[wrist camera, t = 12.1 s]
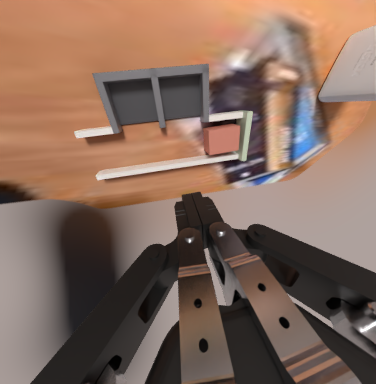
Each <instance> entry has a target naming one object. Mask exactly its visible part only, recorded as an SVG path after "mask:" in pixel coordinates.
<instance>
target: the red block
mask: <svg viewBox="0 0 376 384" xmlns="http://www.w3.org/2000/svg"><path fill="white" fill-rule="evenodd" d="M203 132H204V150H205V151H206V152H207V153H208V154H209V155H214V154H219V153H225V152H231V151H237V150H238V149H239V136H240V126H239V125H235V124H225V125H219V126H213V127H206V128H203Z"/></svg>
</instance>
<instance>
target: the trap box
mask: <svg viewBox="0 0 376 384" xmlns="http://www.w3.org/2000/svg"><path fill="white" fill-rule="evenodd" d="M92 74H93V77H94V80H95V83H96V86H97V88H98V91H99V94H100V97H101V100H102V102H103V105H104V108H105V111H106V114H107V116H108V119H109V122H110V125H111V126H107V127H98V128H90V129H81V130H78V131H75V132H74V133H75V136H76V138H82V137H91V136H99V135H107V134H115V133H120V132H122V131H123V130H122V127H121V125H125V124H133V123H142V122H150V121H159V125H160V128H164V127H166V126H165V120H167V119H176V118H184V117H193V116H200V121H201V122H212V121H220V120H228V119H236V125H239V126H240V136H239V149H238V150H237V151H231V152H225V153H219V154H214V155H203V156H196V157H190V158H183V159H176V160H169V161H162V162H155V163H149V164H142V165H135V166H128V167H121V168H114V169H107V170H101V171H99V172H98V173H97V175H96V178H97V180H102V179H109V178H115V177H122V176H128V175H135V174H141V173H148V172H155V171H161V170H168V169H174V168H181V167H188V166H194V165H201V164H207V163H214V162H220V161H227V160H234V159H239V160H241V161H246V157H247V150H248V143H249V135H250V128H251V121H252V114H253V111H234V112H225V113H217V114H209V64H200V65H188V66H176V67H164V68H152V69H140V70H128V71H116V72H104V73H92Z"/></svg>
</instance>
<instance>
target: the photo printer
mask: <svg viewBox="0 0 376 384" xmlns="http://www.w3.org/2000/svg"><path fill="white" fill-rule="evenodd" d="M319 100H320V101H321V102H348V101H376V25H375V26H372V27H369V28H367V29H364V30H362V31H359V32H357V33H354V34H352V35H351V36H350V37H349V39H348V40H347V42H346V43H345V45H344V47H343V49H342V51H341V52H340V54H339V56H338V58H337V60H336V62H335V63H334V65H333V67H332V69H331V71H330V73H329V75H328V77H327V79H326V81H325V83H324V85H323V87H322V89H321V91H320V93H319Z"/></svg>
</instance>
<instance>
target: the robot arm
mask: <svg viewBox="0 0 376 384" xmlns="http://www.w3.org/2000/svg"><path fill="white" fill-rule="evenodd" d="M175 214H176V221H177V227H178V235H177V237H176V239H175V240H174V241H173V242H171V243H170V244H168V245H166V246H163V245H162V244H153V245H150V246H148V247H147V248H146V249H145V250H144V251H143V252H142V253H141V255H140V256H139V257H138V258H137V259H136V260H135V262H134V263H133V264H132V265H131V266H130V268H129V269H128V270H127V271H126V272H125V273H124V275H123V276H122V277H121V278H120V279H119V280H118V282H117V283H116V284H115V285H114V286H113V287H112V289H111V290H110V291H109V292H108V293H107V295H106V296H105V297H104V298H103V299H102V300H101V301H100V303H99V304H98V305H97V306H96V307H95V308H94V310H93V311H92V312H91V313H90V314H89V316H88V317H87V318H86V319H85V320H84V321H83V323H82V324H81V325H80V326H79V327H78V328H77V330H76V331H75V332H74V333H73V334H72V335H71V337H70V338H69V339H68V340H67V341H66V342H65V344H64V345H63V346H62V347H61V348H60V350H59V351H58V352H57V353H56V354H55V355H54V357H53V358H52V359H51V360H50V361H49V363H48V364H47V365H46V366H45V367H44V368H43V370H42V371H41V372H40V373H39V374H38V375H37V376H36V378H35V379H34V380H33V381H32V382H31V383H30V384H126V378H125V376H124V373H125V371H126V369H127V368H128V366H129V364H130V362H131V360H132V359H133V357H134V355H135V353H136V351H137V350H138V348H139V346H140V344H141V342H142V340H143V339H144V337H145V335H146V333H147V331H148V329H149V328H150V326H151V324H152V322H153V320H154V319H155V317H156V315H157V313H158V311H159V310H160V308H161V306H162V304H163V302H164V301H165V299H166V297H167V295H168V293H169V291H170V289H171V288H172V286H173V284H174V282H175V281H177V280H178V297H179V321H178V322H176V324H175V325H174V326H173V327H172V328H171V329H170V331H169V332H168V334H167V335H166V337H165V339H164V341H163V343H162V345H161V347H160V349H159V351H158V354H157V356H156V358H155V361H154V363H153V365H152V368H151V370H150V372H149V374H148V377H147V379H146V382H145V384H376V273H375V272H372V271H370V270H367V269H365V268H363V267H360V266H358V265H356V264H353V263H351V262H349V261H346V260H344V259H341V258H339V257H337V256H335V255H332V254H330V253H327V252H325V251H323V250H320V249H318V248H316V247H313V246H311V245H308V244H306V243H304V242H302V241H299V240H297V239H294V238H292V237H290V236H287V235H285V234H282V233H280V232H278V231H275V230H273V229H271V228H269V227H266V226H264V225H260V224H253V225H250V226H249V227H248V229H247V230H240V229H233V228H231V226H230V225H228V224H227V223H224V221H223V219H222V217H221V215H220V213H219V212H218V210H217V209H216V206H215V205H214V203H213V201H212V200H211V199H210V198H209V197H202V195H201V192H195V193H190V194H184V195H182V201H180V202H176V204H175ZM205 248H208V250H209V254H210V260H211V263H212V265H213V267H214V270H215V272H216V275H217V277H218V280H219V282H220V285H221V287H222V290H223V294H224V298H225V302H226V305H227V306H223V305H218V303H217V299H216V294H215V289H214V285H213V281H212V276H211V272H210V269H209V267H208V265H207V260H206V256H205V252H204V249H205ZM287 293H288V294H289V295H291V296H292V297H294V298H296V299H297V300H299V301H300V302H302V303H303V304H305V305H306V306H308V307H310V308H311V309H313V310H314V311H316V312H318V313H319V314H321V315H322V316H324V317H325V318H327V319H328V320H330V321H331V322H332V324H333V329H332V328H331V327H329V326H328V325H327V324H325V323H323V322H322V321H321V320H319V319H318V318H316V317H315V316H313V315H312V314H311V313H309V312H308V311H306V310H305V309H303V308H302V307H300V306H299V305H297V304H295V303H293V302H292V300H291V299H290V297H289V296H288V295H287Z"/></svg>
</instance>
